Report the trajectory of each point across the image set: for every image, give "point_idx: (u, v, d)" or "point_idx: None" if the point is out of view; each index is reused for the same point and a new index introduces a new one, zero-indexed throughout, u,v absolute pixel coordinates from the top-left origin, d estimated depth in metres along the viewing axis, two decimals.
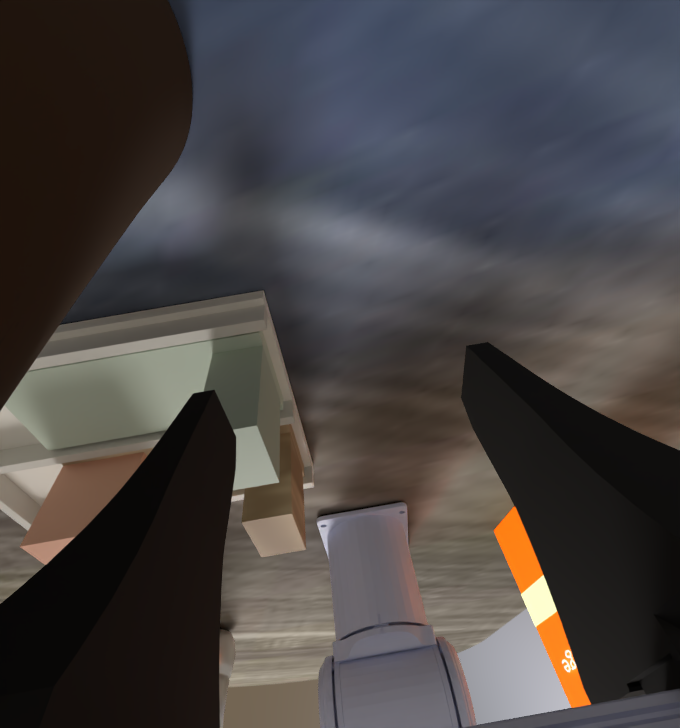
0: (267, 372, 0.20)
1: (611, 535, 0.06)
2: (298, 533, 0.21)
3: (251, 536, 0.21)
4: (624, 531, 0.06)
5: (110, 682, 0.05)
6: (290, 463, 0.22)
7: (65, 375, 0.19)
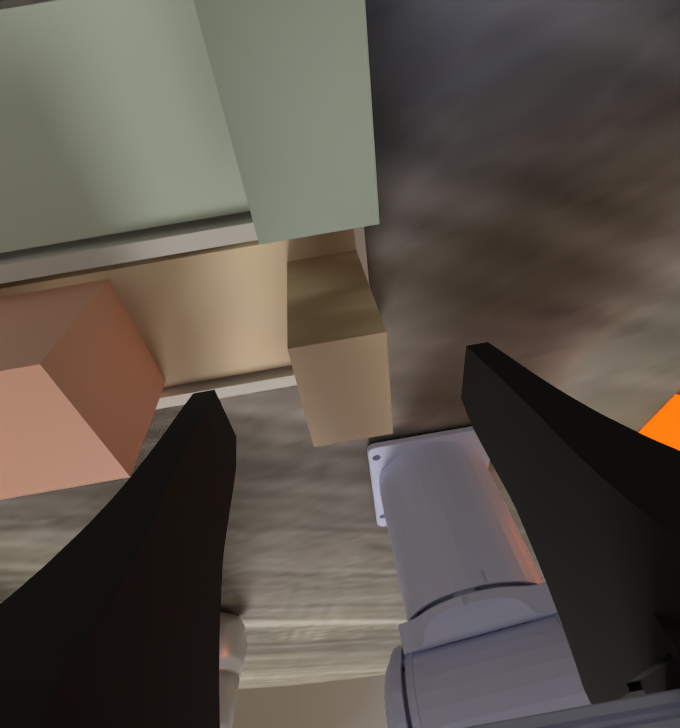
0: None
1: (611, 535, 0.06)
2: (388, 390, 0.11)
3: (302, 391, 0.11)
4: (624, 531, 0.06)
5: (110, 682, 0.05)
6: (365, 279, 0.12)
7: None
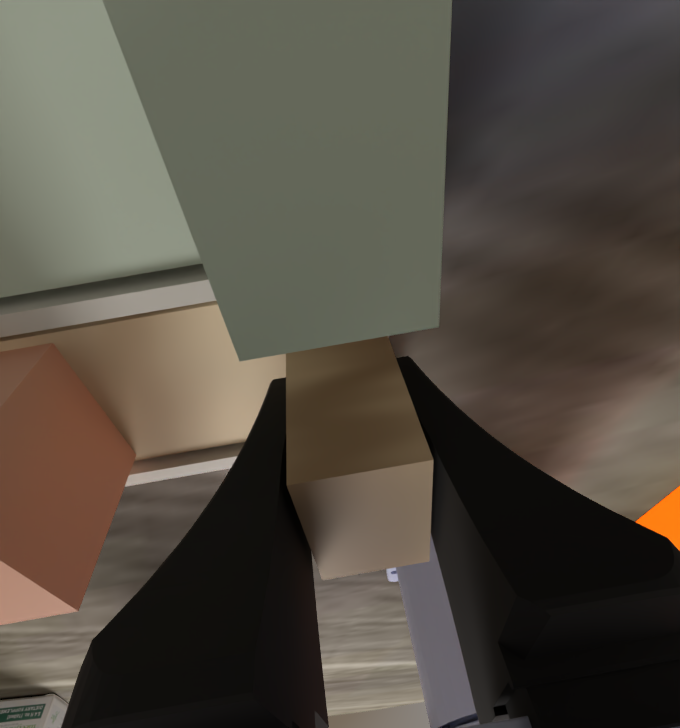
0: None
1: (472, 560, 0.06)
2: (428, 520, 0.08)
3: (307, 528, 0.08)
4: (477, 557, 0.06)
5: (277, 652, 0.05)
6: (392, 353, 0.09)
7: None
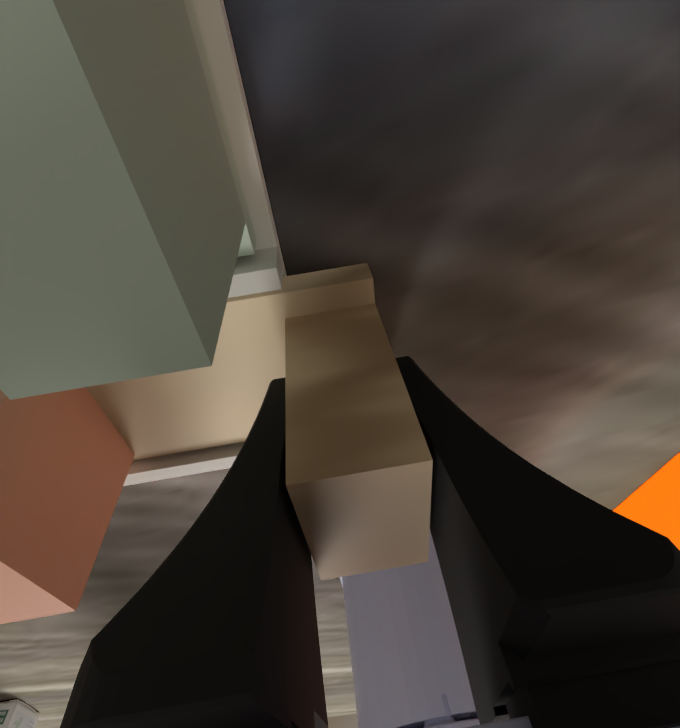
0: (195, 72, 0.07)
1: (472, 559, 0.06)
2: (426, 521, 0.08)
3: (306, 528, 0.08)
4: (477, 557, 0.06)
5: (276, 653, 0.05)
6: (391, 354, 0.09)
7: None
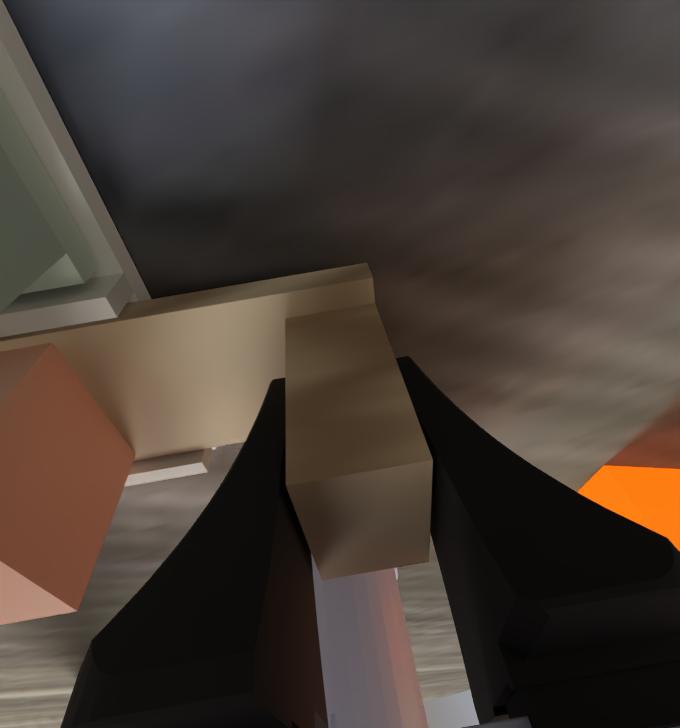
0: None
1: (471, 560, 0.06)
2: (427, 521, 0.08)
3: (306, 528, 0.08)
4: (476, 557, 0.06)
5: (276, 653, 0.05)
6: (391, 353, 0.09)
7: None
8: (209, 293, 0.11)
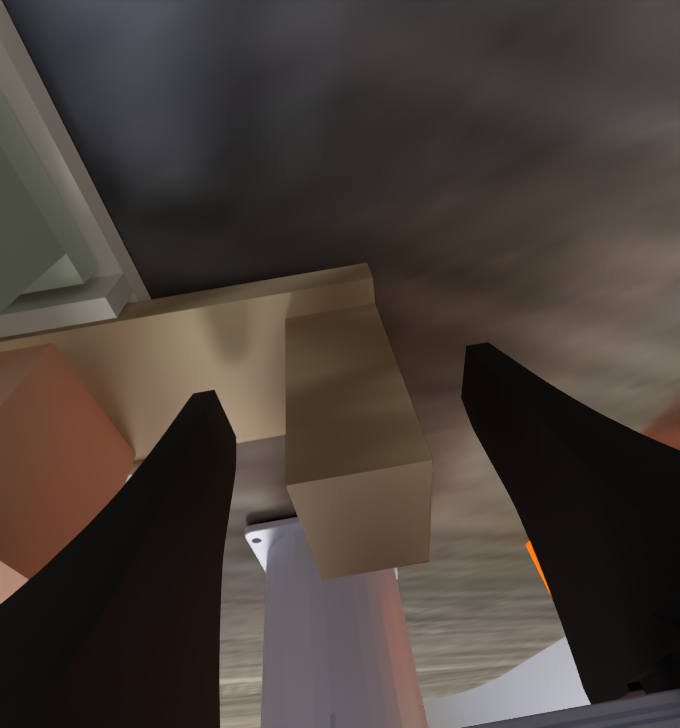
0: None
1: (611, 535, 0.06)
2: (427, 521, 0.08)
3: (306, 528, 0.08)
4: (624, 531, 0.06)
5: (110, 682, 0.05)
6: (391, 354, 0.09)
7: None
8: (209, 293, 0.11)
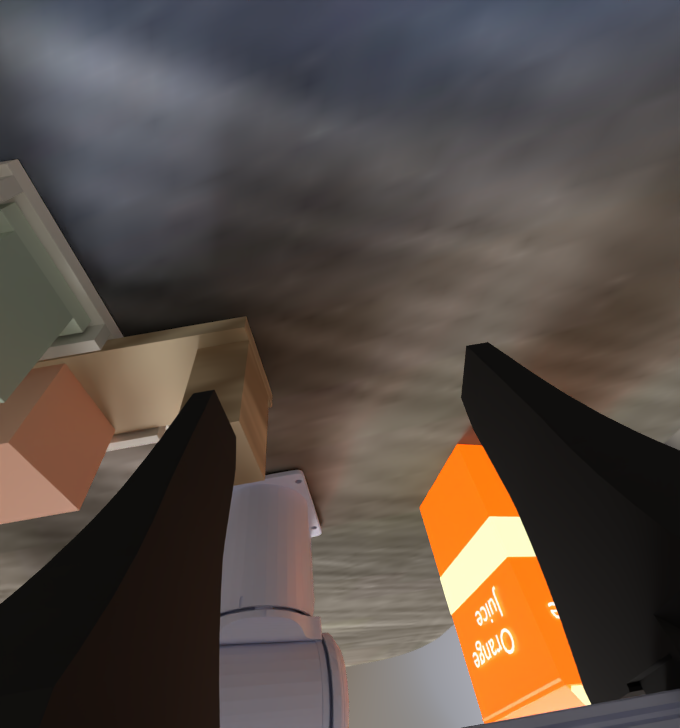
0: (21, 266, 0.15)
1: (611, 535, 0.06)
2: (252, 454, 0.16)
3: None
4: (624, 531, 0.06)
5: (110, 682, 0.05)
6: (245, 370, 0.17)
7: None
8: (154, 334, 0.19)
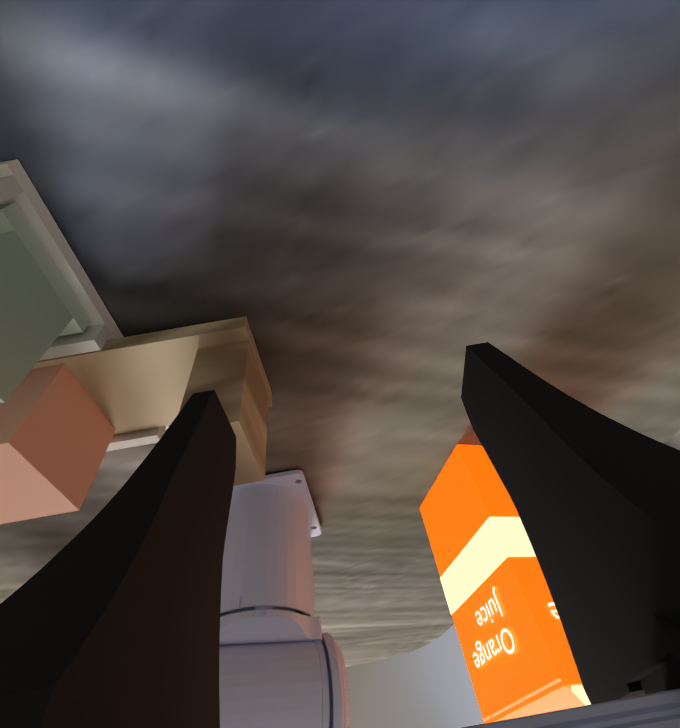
0: (21, 266, 0.15)
1: (611, 535, 0.06)
2: (252, 454, 0.16)
3: None
4: (624, 531, 0.06)
5: (110, 682, 0.05)
6: (245, 370, 0.17)
7: None
8: (154, 334, 0.19)
